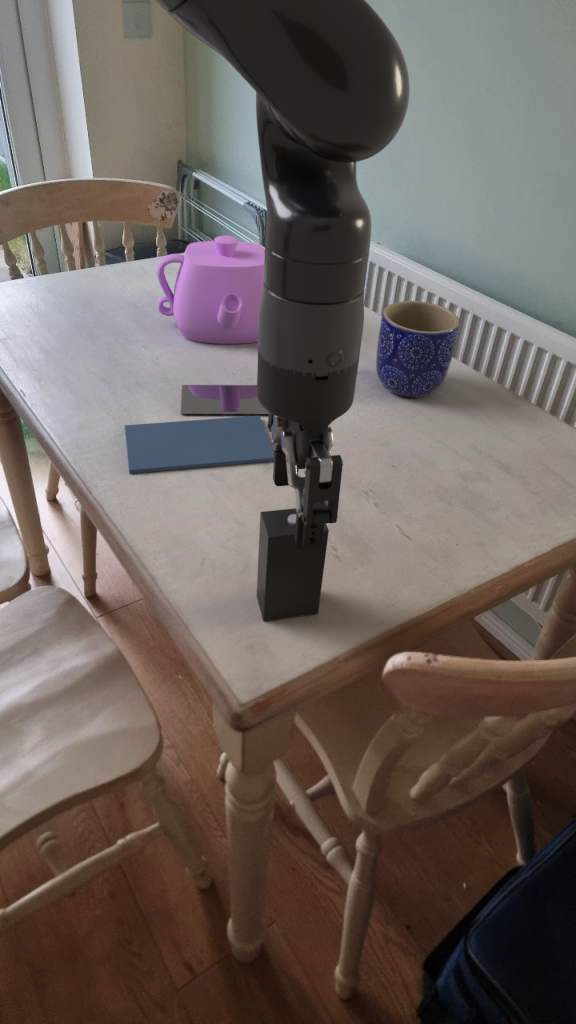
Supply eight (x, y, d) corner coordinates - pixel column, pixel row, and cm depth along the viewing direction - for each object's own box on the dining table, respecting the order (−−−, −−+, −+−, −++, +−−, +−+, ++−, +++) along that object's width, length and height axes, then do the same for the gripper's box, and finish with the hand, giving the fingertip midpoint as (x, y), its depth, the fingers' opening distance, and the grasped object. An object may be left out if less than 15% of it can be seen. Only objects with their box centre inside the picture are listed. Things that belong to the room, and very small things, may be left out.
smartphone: (182, 384, 100) (292, 383, 101) (182, 387, 100) (292, 387, 102) (180, 412, 94) (297, 411, 96) (181, 416, 94) (297, 414, 96)
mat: (129, 474, 84) (129, 470, 83) (125, 428, 91) (124, 425, 91) (274, 461, 87) (275, 457, 87) (259, 419, 95) (259, 415, 94)
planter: (401, 362, 110) (414, 294, 103) (458, 389, 105) (475, 319, 97) (356, 383, 104) (366, 312, 97) (414, 413, 98) (429, 340, 91)
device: (263, 621, 67) (268, 534, 60) (256, 595, 70) (260, 509, 62) (318, 614, 68) (329, 527, 61) (309, 588, 71) (319, 503, 64)
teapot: (230, 293, 127) (230, 211, 118) (314, 332, 117) (321, 246, 107) (145, 321, 116) (139, 234, 107) (230, 367, 106) (230, 274, 96)
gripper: (241, 306, 55) (239, 469, 66) (280, 397, 45) (271, 574, 55) (331, 302, 57) (316, 462, 67) (389, 389, 46) (360, 563, 57)
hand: (295, 512), depth 61 cm, fingers open, 8 cm apart
